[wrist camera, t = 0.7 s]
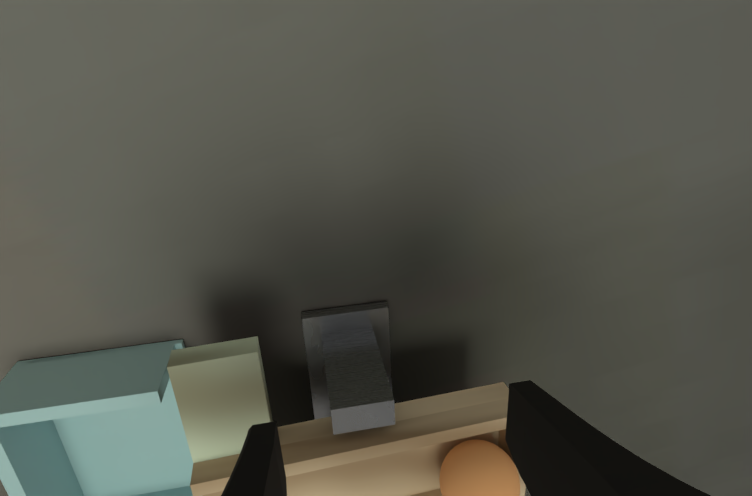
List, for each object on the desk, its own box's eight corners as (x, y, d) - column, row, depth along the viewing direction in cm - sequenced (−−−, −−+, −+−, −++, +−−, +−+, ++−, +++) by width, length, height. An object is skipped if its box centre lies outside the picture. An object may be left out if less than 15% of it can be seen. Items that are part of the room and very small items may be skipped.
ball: (486, 467, 22) (534, 525, 19) (425, 494, 21) (467, 560, 18) (489, 413, 21) (541, 467, 18) (424, 439, 20) (469, 501, 17)
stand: (393, 461, 27) (418, 559, 22) (322, 474, 27) (331, 577, 21) (385, 301, 23) (414, 375, 18) (301, 312, 22) (305, 392, 17)
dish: (225, 483, 26) (216, 545, 22) (80, 508, 25) (50, 578, 21) (189, 338, 22) (173, 388, 19) (17, 361, 21) (-31, 418, 18)
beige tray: (497, 467, 23) (522, 513, 21) (220, 532, 21) (216, 591, 19) (509, 294, 20) (542, 327, 17) (171, 350, 17) (158, 396, 15)
